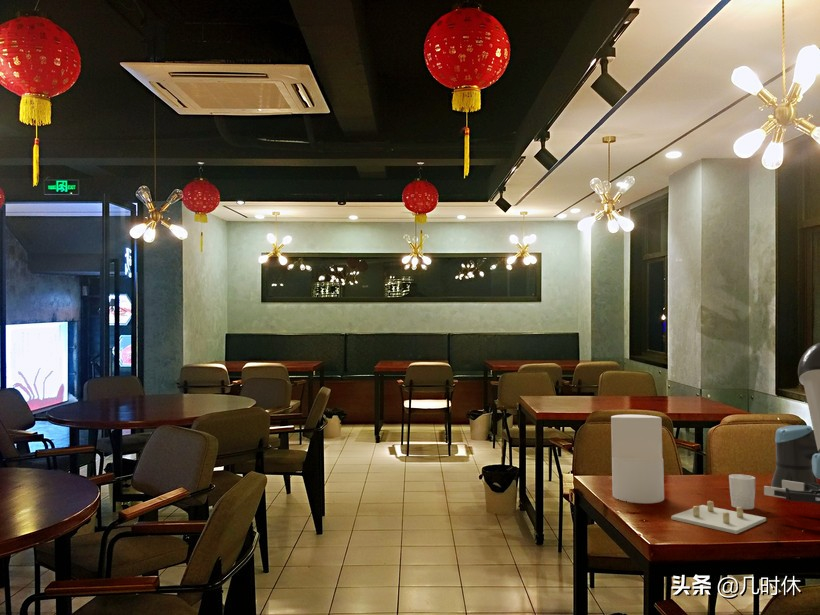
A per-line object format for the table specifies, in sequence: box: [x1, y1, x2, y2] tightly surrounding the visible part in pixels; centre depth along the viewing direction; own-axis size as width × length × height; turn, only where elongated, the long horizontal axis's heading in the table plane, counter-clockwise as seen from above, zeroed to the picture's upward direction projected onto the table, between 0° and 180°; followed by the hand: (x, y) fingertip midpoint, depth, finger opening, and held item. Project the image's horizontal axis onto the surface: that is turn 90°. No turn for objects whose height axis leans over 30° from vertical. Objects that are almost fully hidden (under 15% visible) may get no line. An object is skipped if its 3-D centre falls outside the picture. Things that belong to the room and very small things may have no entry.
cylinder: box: [610, 414, 665, 504], centre depth 233 cm, size 17×17×28 cm
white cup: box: [728, 473, 756, 510], centre depth 219 cm, size 8×8×10 cm
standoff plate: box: [670, 500, 767, 535], centre depth 204 cm, size 20×20×4 cm
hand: (773, 487), depth 211 cm, fingers open, 13 cm apart
